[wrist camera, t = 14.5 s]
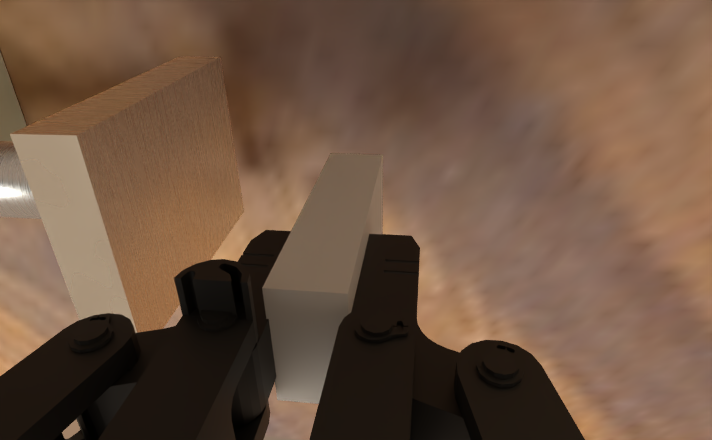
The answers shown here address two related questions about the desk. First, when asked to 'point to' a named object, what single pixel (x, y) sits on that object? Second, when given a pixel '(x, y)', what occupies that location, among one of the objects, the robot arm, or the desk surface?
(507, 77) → the desk surface
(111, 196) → the shaft
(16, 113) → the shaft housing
